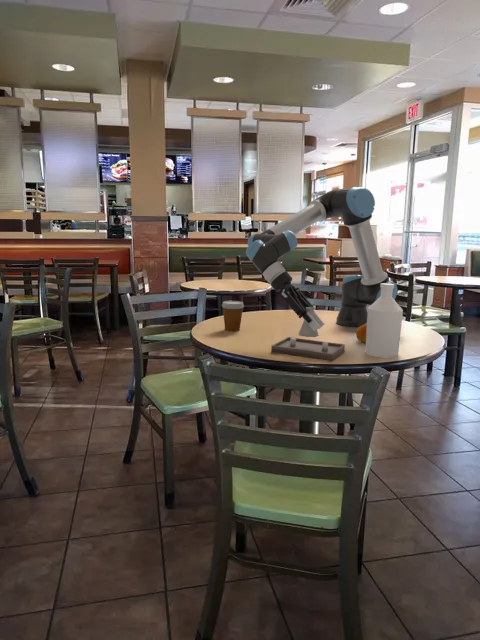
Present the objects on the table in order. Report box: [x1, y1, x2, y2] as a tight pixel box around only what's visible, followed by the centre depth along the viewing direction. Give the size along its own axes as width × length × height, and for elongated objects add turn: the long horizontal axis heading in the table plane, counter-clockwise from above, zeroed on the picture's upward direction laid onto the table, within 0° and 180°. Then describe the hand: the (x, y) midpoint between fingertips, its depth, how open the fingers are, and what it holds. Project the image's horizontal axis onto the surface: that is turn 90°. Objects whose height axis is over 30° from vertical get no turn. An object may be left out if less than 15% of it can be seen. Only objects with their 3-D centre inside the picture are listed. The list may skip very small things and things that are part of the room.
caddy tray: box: [270, 336, 346, 362], centre depth 167 cm, size 16×22×4 cm
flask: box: [298, 306, 319, 338], centre depth 165 cm, size 7×7×10 cm
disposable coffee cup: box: [221, 300, 245, 332], centre depth 200 cm, size 10×10×12 cm
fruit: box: [355, 323, 367, 344], centre depth 183 cm, size 8×8×8 cm
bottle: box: [364, 283, 404, 359], centre depth 165 cm, size 12×12×25 cm
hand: (319, 327), depth 164 cm, fingers closed on flask, 4 cm apart
